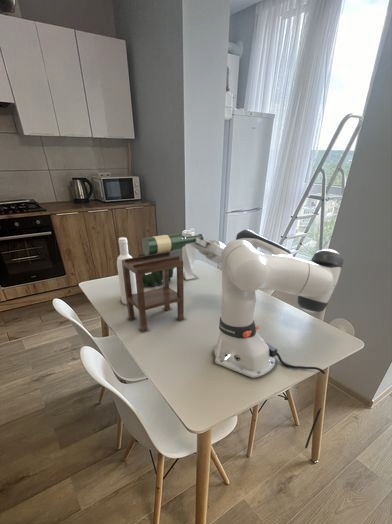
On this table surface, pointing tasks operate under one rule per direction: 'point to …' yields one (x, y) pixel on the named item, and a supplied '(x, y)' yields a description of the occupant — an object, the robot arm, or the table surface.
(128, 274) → the stand
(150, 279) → the toy figurine
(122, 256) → the bottle
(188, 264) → the skyscraper
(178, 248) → the bottle
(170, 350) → the table surface
